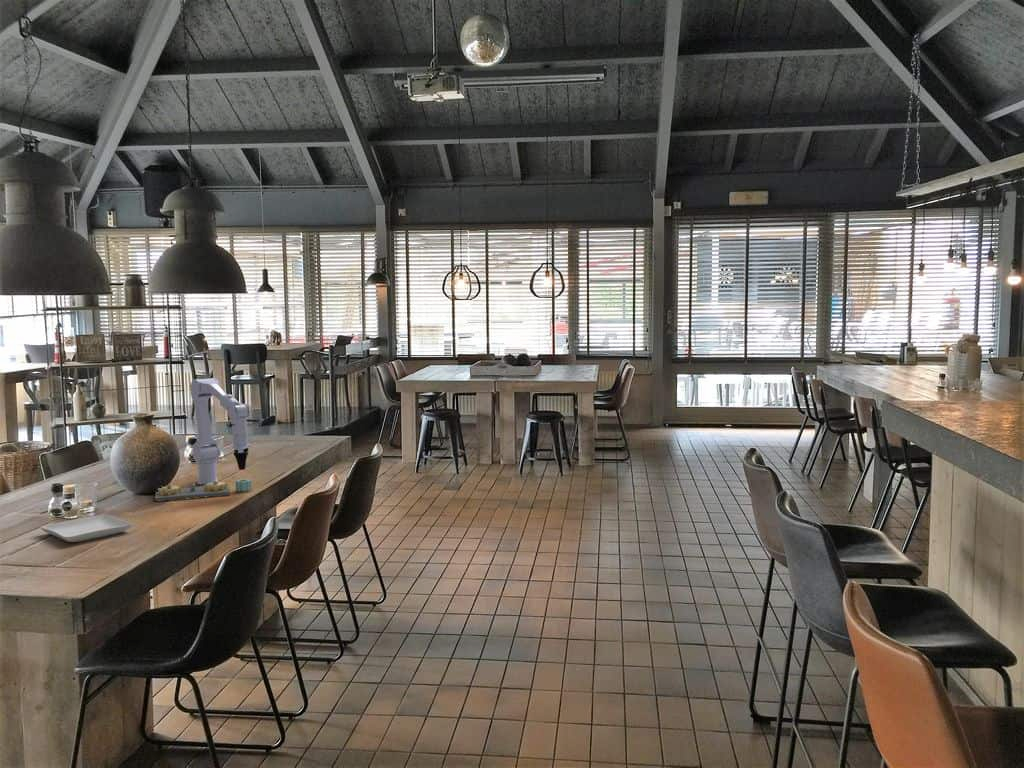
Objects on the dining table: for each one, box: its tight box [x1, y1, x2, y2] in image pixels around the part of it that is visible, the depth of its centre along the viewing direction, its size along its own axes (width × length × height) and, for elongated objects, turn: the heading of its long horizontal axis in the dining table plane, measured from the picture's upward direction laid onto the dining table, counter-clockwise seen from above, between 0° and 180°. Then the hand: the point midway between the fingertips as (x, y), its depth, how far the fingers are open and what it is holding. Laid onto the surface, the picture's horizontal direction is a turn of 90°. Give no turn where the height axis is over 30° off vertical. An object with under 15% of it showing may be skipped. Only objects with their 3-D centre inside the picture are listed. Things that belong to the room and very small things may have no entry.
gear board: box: [154, 480, 231, 501], centre depth 317 cm, size 14×27×5 cm, turn 112°
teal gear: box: [235, 478, 252, 493], centre depth 324 cm, size 6×6×4 cm
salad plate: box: [40, 513, 133, 543], centre depth 264 cm, size 21×21×3 cm
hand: (242, 468), depth 323 cm, fingers open, 7 cm apart
